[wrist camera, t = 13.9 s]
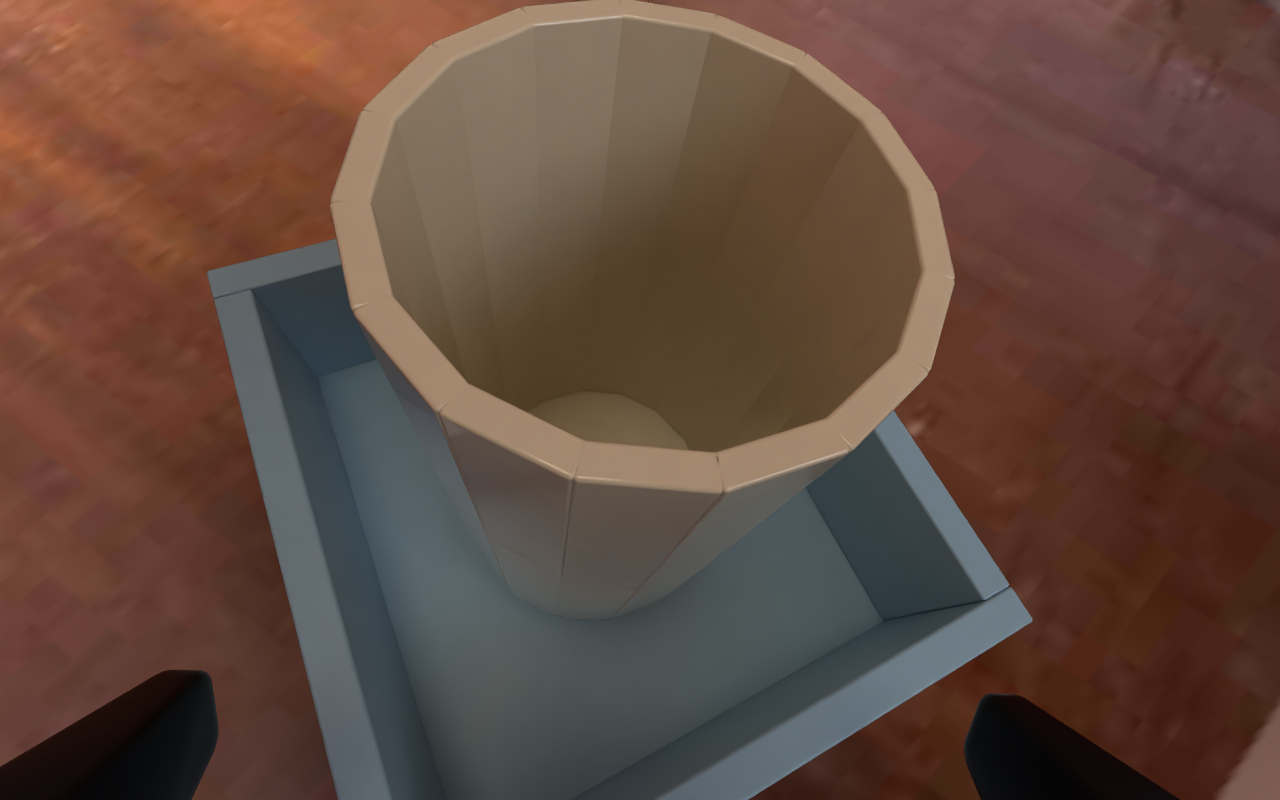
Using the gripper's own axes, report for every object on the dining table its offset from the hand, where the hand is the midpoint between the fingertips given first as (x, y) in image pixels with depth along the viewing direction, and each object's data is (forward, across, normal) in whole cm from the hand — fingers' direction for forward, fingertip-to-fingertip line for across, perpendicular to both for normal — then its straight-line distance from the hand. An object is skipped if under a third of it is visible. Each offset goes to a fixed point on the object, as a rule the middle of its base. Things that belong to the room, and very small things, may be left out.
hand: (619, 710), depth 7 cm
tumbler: (+10, 0, +3) cm, 11 cm away
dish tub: (+11, 0, +3) cm, 11 cm away
